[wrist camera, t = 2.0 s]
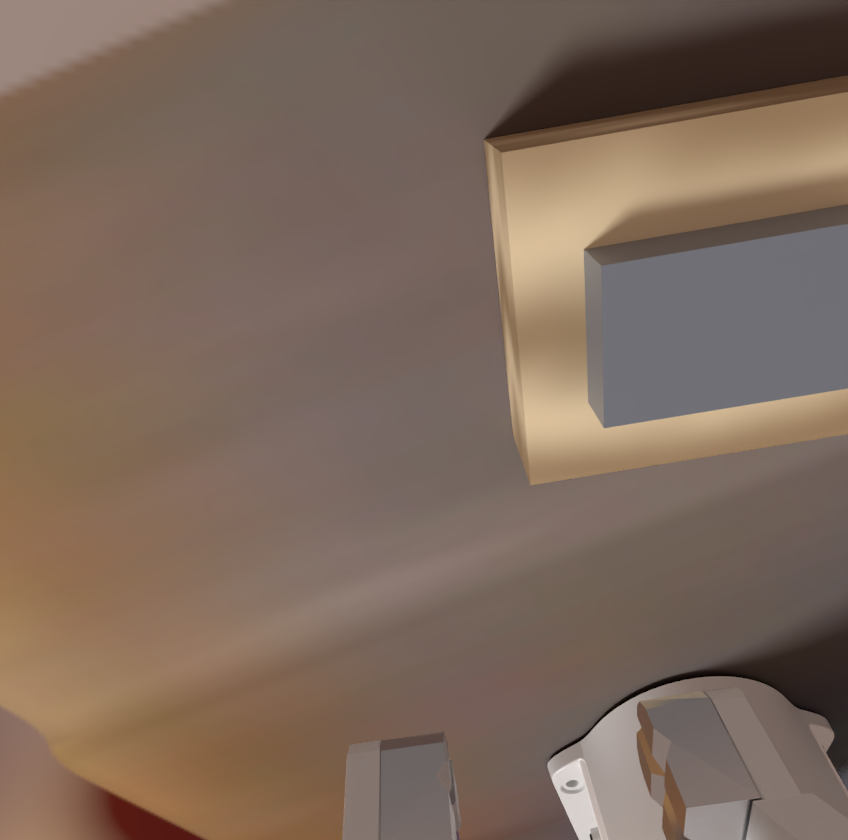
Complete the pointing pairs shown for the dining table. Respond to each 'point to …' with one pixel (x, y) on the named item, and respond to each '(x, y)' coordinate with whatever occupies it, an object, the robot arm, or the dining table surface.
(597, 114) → the dining table surface
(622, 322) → the grey flat block
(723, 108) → the square wooden plank
